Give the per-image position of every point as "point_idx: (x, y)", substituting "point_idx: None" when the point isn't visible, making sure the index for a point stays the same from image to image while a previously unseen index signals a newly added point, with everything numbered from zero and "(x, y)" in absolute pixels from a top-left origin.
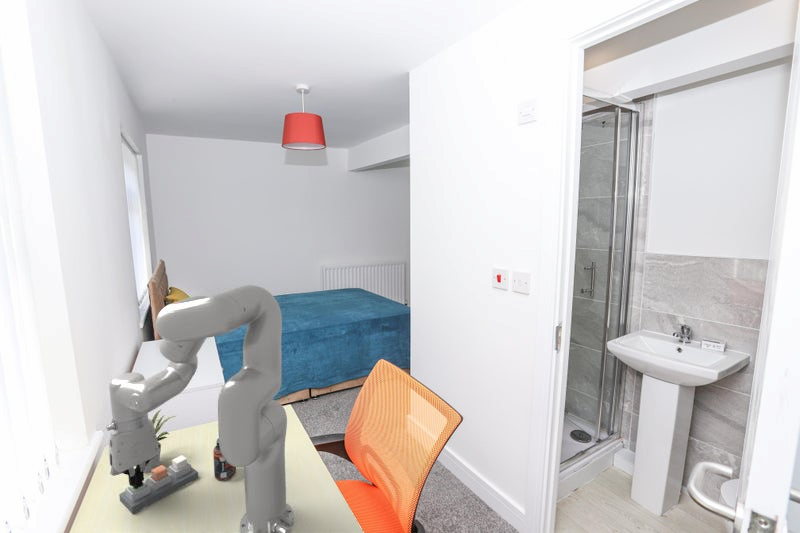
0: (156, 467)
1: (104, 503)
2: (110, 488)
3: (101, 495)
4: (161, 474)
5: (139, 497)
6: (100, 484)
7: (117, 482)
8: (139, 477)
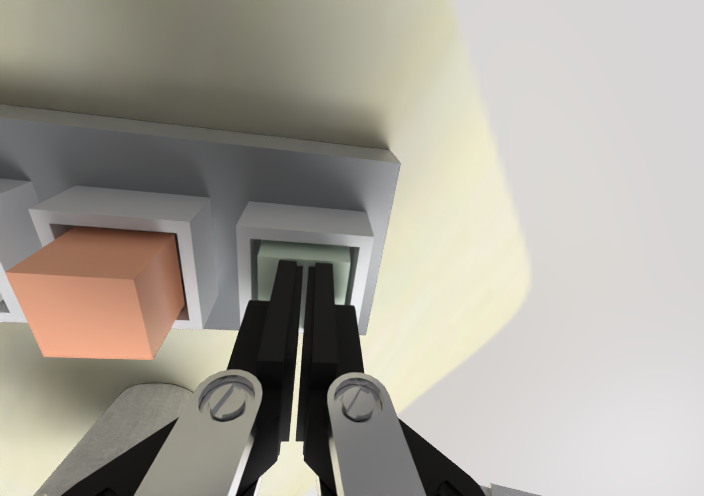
0: (133, 389)
1: (403, 340)
2: None
3: None
4: (96, 256)
5: (323, 210)
6: None
7: None
8: (291, 325)
